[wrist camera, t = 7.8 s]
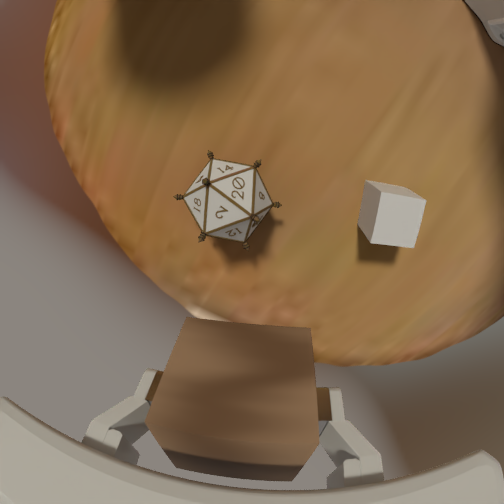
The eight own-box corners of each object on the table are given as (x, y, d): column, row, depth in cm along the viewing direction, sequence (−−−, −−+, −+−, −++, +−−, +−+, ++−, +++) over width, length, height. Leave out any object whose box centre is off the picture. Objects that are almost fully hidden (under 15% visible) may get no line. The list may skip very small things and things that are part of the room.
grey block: (405, 187, 26) (426, 200, 21) (396, 228, 28) (413, 248, 23) (365, 179, 26) (381, 191, 21) (357, 223, 28) (370, 243, 24)
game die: (226, 170, 30) (183, 125, 21) (296, 186, 28) (275, 136, 18) (198, 243, 30) (141, 221, 21) (268, 268, 27) (231, 253, 18)
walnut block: (310, 328, 10) (319, 443, 6) (293, 394, 13) (291, 481, 8) (186, 316, 11) (144, 422, 6) (198, 385, 13) (176, 467, 9)
